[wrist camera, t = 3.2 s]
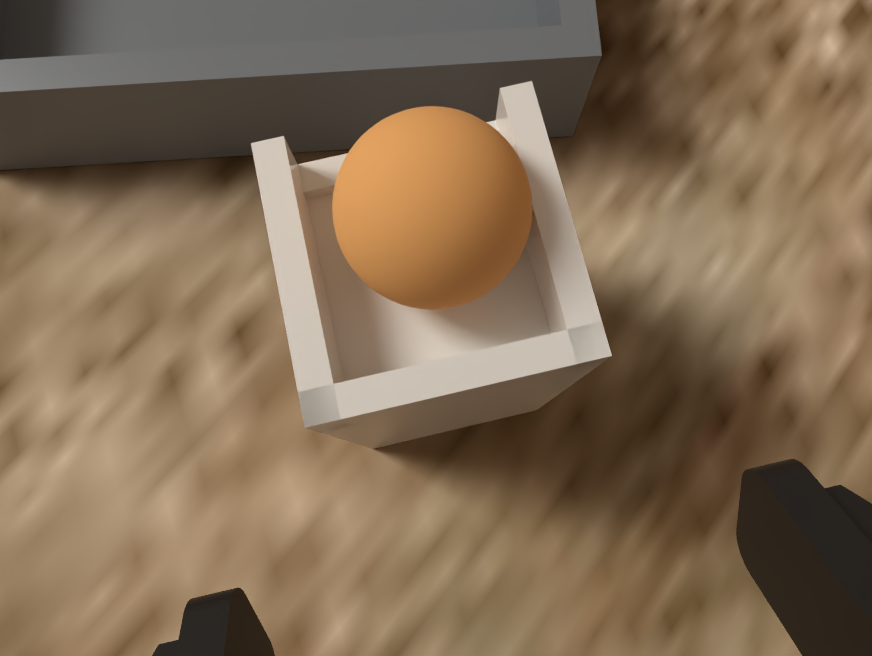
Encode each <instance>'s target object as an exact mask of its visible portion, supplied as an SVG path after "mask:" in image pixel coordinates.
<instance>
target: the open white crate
mask: <svg viewBox="0 0 872 656" xmlns="http://www.w3.org/2000/svg"><path fill="white" fill-rule="evenodd" d="M486 123H488V124H489V125H491V126H492V127H493V128H495V129H496V130H497V131H498V132H499V133H500V134H501V135H502V136H503V137H504V138H505V139H506V140H507V141H508V142H509V143H510V145H511V146H512V147H513V149H514V150H515V151H516V153H517V155H518V156H519V158H520V160H521V162H522V164H523V166H524V169H525V171H526V174H527V176H528V180H529V185H530V189H531V194H532V222H531V227H530V232H529V236H528V240H527V242H526V245H525V247H524V249H523V251H522V254H521V256H520V258H519V260H518V261H517V263H516V264H515V266H514V267H513V269H512V270H511V271H510V273H509V274H508V275H507V276H506V277H505V278H504V279H503V281H502V282H500V283H499V284H498V285H497V286H496V287H494V288H493V289H492V290H491V291H489V292H488V293H486V294H485V295H483V296H482V297H480V298H478V299H476V300H474V301H471V302H469V303H466V304H463V305H460V306H457V307H452V308H447V309H436V310H430V309H418V308H412V307H408V306H405V305H401V304H398V303H396V302H394V301H391V300H389V299H387V298H386V297H384V296H382V295H380V294H378V293H377V292H376V291H374V290H373V289H371V288H370V287H369V286H368V285H367V284H366V283H364V282H363V281H362V280H361V279H360V278H359V276H358V275H357V274H356V273H355V272H354V270H353V269H352V268H351V267H350V265H349V263H348V262H347V260H346V258H345V257H344V255H343V253H342V251H341V248H340V246H339V243H338V241H337V237H336V233H335V228H334V224H333V214H332V200H333V191H334V187H335V182H336V179H337V175H338V172H339V170H340V168H341V166H342V163H343V161H344V159H345V157H346V155H347V154H348V153H346V154H342V155H337V156H333V157H328V158H324V159H320V160H315V161H311V162H306V163H302V164H297V162H296V160H295V158H294V156H293V154H292V152H291V150H290V148H289V146H288V144H287V142H286V140H285V138H284V136H281V137H276V138H272V139H267V140H263V141H258V142H254V143H251V147H252V152H253V157H254V162H255V168H256V173H257V178H258V184H259V189H260V194H261V200H262V205H263V210H264V215H265V221H266V226H267V231H268V237H269V242H270V247H271V252H272V258H273V263H274V268H275V274H276V279H277V284H278V289H279V295H280V300H281V305H282V311H283V316H284V321H285V326H286V332H287V337H288V342H289V348H290V353H291V358H292V363H293V369H294V374H295V379H296V385H297V390H298V395H299V400H300V406H301V411H302V416H303V422H304V427H305V428H307V429H310V430H313V431H317V432H320V433H323V434H326V435H329V436H333V437H336V438H339V439H342V440H346V441H349V442H352V443H355V444H358V445H362V446H365V447H368V448H371V449H374V448H379V447H383V446H387V445H391V444H396V443H400V442H404V441H408V440H413V439H417V438H421V437H425V436H430V435H434V434H438V433H442V432H447V431H451V430H455V429H459V428H463V427H468V426H472V425H476V424H480V423H485V422H489V421H493V420H497V419H502V418H506V417H510V416H514V415H519V414H523V413H527V412H531V411H536V410H538V409H539V408H540V407H542V406H543V405H545V404H546V403H547V402H549V401H550V400H552V399H553V398H554V397H556V396H557V395H558V394H560V393H561V392H563V391H564V390H565V389H567V388H568V387H570V386H571V385H572V384H574V383H575V382H576V381H578V380H579V379H581V378H582V377H583V376H585V375H586V374H588V373H589V372H590V371H592V370H593V369H594V368H596V367H597V366H599V365H600V364H601V363H603V362H604V361H606V360H607V359H608V358H610V357H611V356H612V354H611V351H610V347H609V344H608V340H607V337H606V334H605V330H604V327H603V323H602V320H601V316H600V313H599V310H598V306H597V303H596V299H595V296H594V292H593V289H592V286H591V282H590V279H589V275H588V272H587V268H586V265H585V262H584V258H583V255H582V251H581V248H580V244H579V241H578V237H577V234H576V231H575V227H574V224H573V220H572V217H571V213H570V210H569V207H568V203H567V200H566V196H565V193H564V189H563V186H562V183H561V179H560V176H559V172H558V169H557V165H556V162H555V159H554V155H553V152H552V148H551V145H550V141H549V138H548V135H547V131H546V128H545V124H544V121H543V117H542V114H541V111H540V107H539V104H538V100H537V97H536V93H535V90H534V87H533V83H532V81H529V82H525V83H520V84H516V85H511V86H507V87H502V88H500V90H499V98H498V106H497V113H496V120H495V121H490V122H486Z"/></svg>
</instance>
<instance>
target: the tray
mask: <svg viewBox="0 0 872 656" xmlns="http://www.w3.org/2000/svg"><path fill="white" fill-rule="evenodd" d="M601 57H602V52H601V44H600V35H599V27H598V18H597V10H596V1H595V0H0V170H10V169H27V168H44V167H61V166H78V165H94V164H111V163H128V162H145V161H161V160H178V159H195V158H212V157H229V156H245V155H253V152H252V147H251V143H254V142H258V141H263V140H267V139H272V138H276V137H281V136H284V138H285V140H286V142H287V144H288V146H289V148H290V150H291V152H292V153H296V152H313V151H329V150H346V149H351V148H352V147H353V145H354V144H355V143H356V141H357V140H358V139H359V138H360V137H361V136H362V135H363V134H364V133H365V132H366V131H368V130H369V129H370V128H371V127H372V126H374V125H375V124H376V123H378V122H380V121H381V120H383V119H384V118H386V117H389V116H391V115H393V114H396V113H398V112H401V111H404V110H407V109H411V108H416V107H424V106H439V107H448V108H453V109H457V110H461V111H464V112H467V113H470V114H472V115H474V116H476V117H478V118H480V119H481V120H483V121H485V122H490V121H495V120H496V113H497V106H498V98H499V90H500V88H502V87H507V86H511V85H516V84H520V83H525V82H529V81H532V83H533V87H534V90H535V93H536V97H537V100H538V104H539V107H540V111H541V114H542V117H543V121H544V124H545V128H546V131H547V135H548V137H564V136H573V134H574V131H575V129H576V126H577V123H578V120H579V118H580V115H581V112H582V109H583V106H584V104H585V101H586V98H587V95H588V93H589V90H590V87H591V84H592V82H593V79H594V76H595V73H596V71H597V68H598V65H599V62H600V59H601Z"/></svg>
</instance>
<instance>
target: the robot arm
mask: <svg viewBox="0 0 872 656" xmlns="http://www.w3.org/2000/svg"><path fill="white" fill-rule="evenodd" d="M736 535H737V542H738V547H739V550H740V553H741V556H742V559H743V561H744V563H745V565H746V567H747V569H748V571H749V573H750V574H751V576H752V577H753V579H754V581H755V582H756V584H757V585H758V587H759V588H760V590H761V592H762V593H763V595H764V596H765V598H766V599H767V601H768V603H769V604H770V606H771V607H772V609H773V610H774V612H775V613H776V615H777V617H778V618H779V620H780V621H781V623H782V624H783V626H784V628H785V629H786V631H787V632H788V634H789V635H790V637H791V638H792V640H793V642H794V643H795V645H796V646H797V648H798V649H799V651H800V653H801V654H802V656H872V504H871V503H870V502H868V501H866V500H865V499H863V498H861V497H860V496H858V495H856V494H855V493H853V492H852V491H850V490H848V489H847V488H845V487H843V486H842V485H837V486H833V487H829V488H825V489H824V487H823V486H822V485H821V484H820V483H819V482H818V480H817V479H816V478H815V477H814V476H813V475H812V473H811V472H810V471H809V470H808V469H807V468H806V467H805V466H804V465H803V464H802V463H801V462H799V461H798V460H795V459H789V460H785V461H781V462H776V463H772V464H768V465H764V466H759V467H755V468H751V469H747V470H745V471H744V472H743V475H742V481H741V491H740V501H739V511H738V520H737V531H736ZM152 656H275V655H274V651H273V647H272V644H271V642H270V639H269V638H268V636H267V634H266V632H265V630H264V628H263V626H262V624H261V623H260V621H259V619H258V617H257V615H256V613H255V611H254V610H253V608H252V606H251V604H250V602H249V600H248V598H247V596H246V595H245V593H244V591H243V590H242V589H241V588H234V589H230V590H226V591H222V592H217V593H213V594H209V595H205V596H200V597H196V598H192V599H190V600H189V601H188V603H187V605H186V607H185V610H184V614H183V619H182V625H181V630H180V635H179V640H176V641H172V642H167V643H163V644H159V645H158V647H157V648H156V650H155V652H154V653H153V655H152Z"/></svg>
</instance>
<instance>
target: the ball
mask: <svg viewBox="0 0 872 656" xmlns="http://www.w3.org/2000/svg"><path fill="white" fill-rule="evenodd" d="M332 214H333V224H334V228H335V233H336V237H337V241H338V243H339V246H340V248H341V251H342V253H343V255H344V257H345V258H346V260H347V262H348V263H349V265H350V267H351V268H352V269H353V270H354V272H355V273H356V274H357V275H358V276H359V278H360V279H361V280H362V281H363V282H364V283H366V284H367V285H368V286H369V287H370V288H371V289H373V290H374V291H376V292H377V293H378V294H380V295H382V296H384V297H386V298H387V299H389V300H391V301H394V302H396V303H398V304H401V305H405V306H408V307H412V308H418V309H430V310H436V309H447V308H452V307H457V306H460V305H463V304H466V303H469V302H471V301H474V300H476V299H478V298H480V297H482V296H483V295H485V294H486V293H488V292H489V291H491V290H492V289H493V288H494V287H496V286H497V285H498V284H499V283H500V282H502V281H503V279H504V278H505V277H506V276H507V275H508V274H509V273H510V271H511V270H512V269H513V267H514V266H515V264H516V263H517V261H518V260H519V258H520V256H521V254H522V251H523V249H524V247H525V245H526V242H527V240H528V236H529V232H530V227H531V222H532V194H531V189H530V185H529V180H528V176H527V174H526V171H525V169H524V166H523V164H522V162H521V160H520V158H519V156H518V155H517V153H516V151H515V150H514V149H513V147H512V146H511V145H510V143H509V142H508V141H507V140H506V139H505V138H504V137H503V136H502V135H501V134H500V133H499V132H498V131H497V130H496V129H495V128H493V127H492V126H491V125H489V124H488V123H486V122H485V121H483V120H481V119H480V118H478V117H476V116H474V115H472V114H470V113H467V112H464V111H461V110H457V109H453V108H448V107H439V106H424V107H416V108H411V109H407V110H404V111H401V112H398V113H396V114H393V115H391V116H389V117H386V118H384V119H383V120H381V121H380V122H378V123H376V124H375V125H374V126H372V127H371V128H370V129H369V130H368V131H366V132H365V133H364V134H363V135H362V136H361V137H360V138H359V139H358V140H357V141H356V143H355V144H354V145H353V147H352V148H351V149H350V151H349V152H348V154H347V155H346V157H345V159H344V161H343V163H342V166H341V168H340V170H339V172H338V175H337V179H336V182H335V187H334V191H333V200H332Z"/></svg>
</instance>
